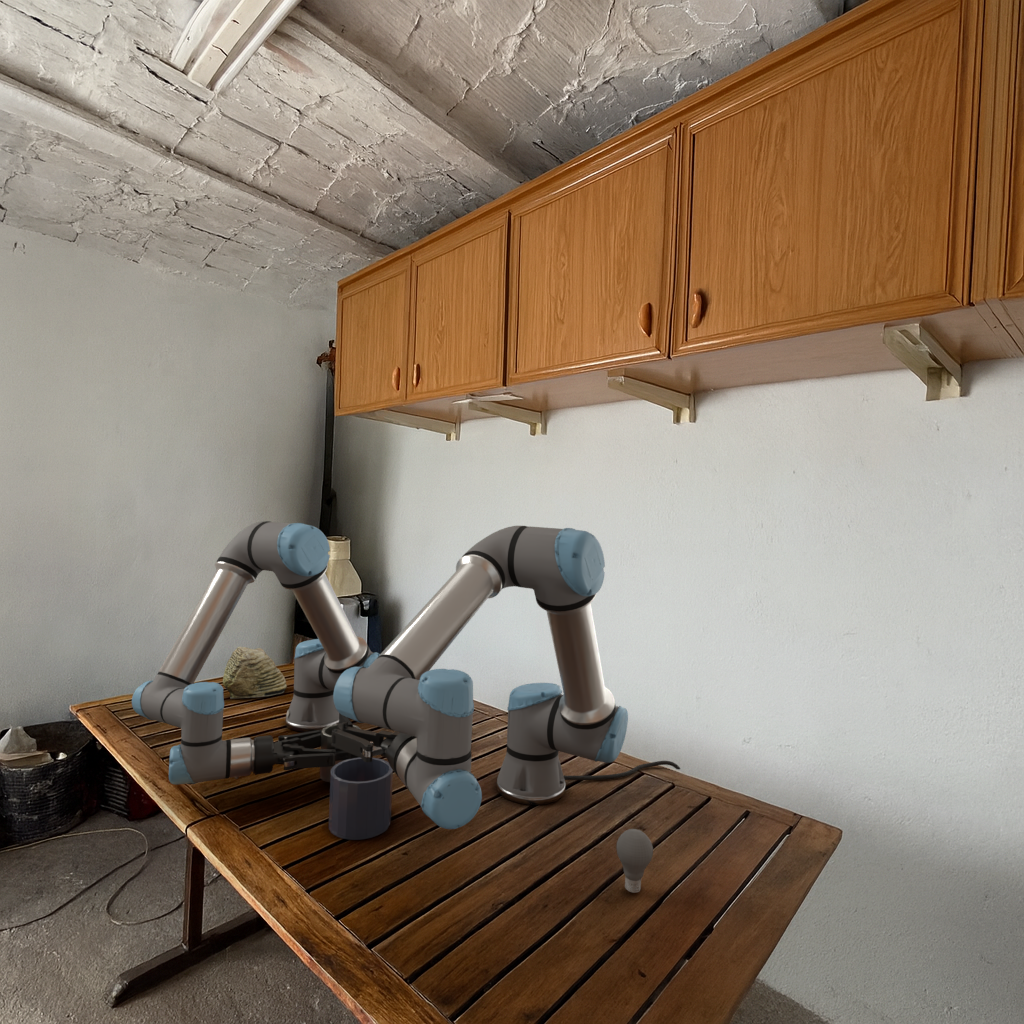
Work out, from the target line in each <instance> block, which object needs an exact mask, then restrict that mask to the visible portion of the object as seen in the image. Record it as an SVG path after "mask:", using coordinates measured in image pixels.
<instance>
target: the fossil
mask: <svg viewBox="0 0 1024 1024" xmlns="http://www.w3.org/2000/svg"><path fill="white" fill-rule="evenodd" d="M222 676H223V677H222V685H223V688H225V690H226V691H228V693H229V698H230V699H250V698H264V697H271V696H275V695H281V694H284V693H285V691H286V689H287V687H288V686H287V680H286V678H285V676H284V674H283V673H282V672H281V669H279V668H278V667H277V665H276V663H275V662H274V660H273V659H272V658H271V657H270V656H269V655H268V654H267V653H266V652H265V650H264V649H263V648H260V647H258V648H251V647H247V646H246V647H245V646H238V647H237V648H236V649H235V650H233V651H232V653H231V656H230V657H229V659H228V660H227V663H226V666H225V668H224V671H223V675H222Z"/></svg>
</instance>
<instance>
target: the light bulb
mask: <svg viewBox="0 0 1024 1024" xmlns="http://www.w3.org/2000/svg"><path fill="white" fill-rule="evenodd" d="M615 849H616V854H617V857H618V859H619V861H620V863H621V865H622V867H623V873H624V874H623V875H624V876H625V878H624V888H625V890H627V891H628V892H630V893H634V894H635V893H639V892H640V891H641V889H642V887H641V886H642V879H643V877H644V875H645V871H646V868H647V867H648V866H649V864H650V863H651V861H652V859H653V855H654V847H653V843H652V841H651V838H649V836H648V835H647V834H646V833H645V832H643V831H642V830H641V829H636V828H629V829H627V830H625V831H623V832H622V833H621V834H620V835H619V837H618V839H617V841H616V847H615Z"/></svg>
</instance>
